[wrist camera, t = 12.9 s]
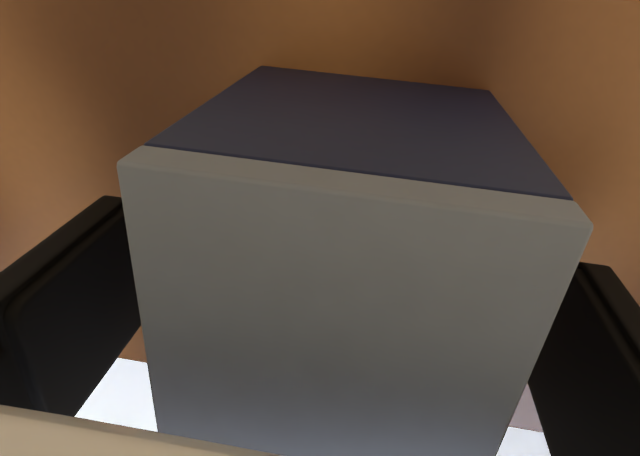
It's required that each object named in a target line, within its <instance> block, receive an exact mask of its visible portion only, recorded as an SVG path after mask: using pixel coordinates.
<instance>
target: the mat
mask: <svg viewBox="0 0 640 456" xmlns="http://www.w3.org/2000/svg"><path fill="white" fill-rule="evenodd" d="M259 66H271V67H280V68H289V69H298V70H307V71H316V72H326V73H335V74H344V75H353V76H362V77H372V78H381V79H390V80H399V81H408V82H418V83H427V84H436V85H445V86H454V87H464V88H473V89H482V90H489V91H490V92H491V93H492V94H493V95H494V97H495V98H496V99H497V101H498V102H499V103H500V104H501V106H502V107H503V108H504V110H505V111H506V112H507V113H508V115H509V116H510V117H511V119H512V120H513V121H514V123H515V124H516V125H517V126H518V128H519V129H520V130H521V132H522V133H523V134H524V135H525V137H526V138H527V139H528V141H529V142H530V143H531V144H532V146H533V147H534V148H535V150H536V151H537V152H538V153H539V155H540V156H541V157H542V159H543V160H544V161H545V162H546V164H547V165H548V166H549V168H550V169H551V170H552V171H553V173H554V174H555V175H556V177H557V178H558V179H559V180H560V182H561V183H562V184H563V186H564V187H565V188H566V189H567V191H568V192H569V193H570V195H571V196H572V197H573V201H575V202H576V203H577V204H578V205H579V206H580V208H581V209H582V210H583V212H584V213H585V214H586V215H587V217H588V218H589V219H590V221H591V222H592V223H593V231H592V233H591V236H590V238H589V240H588V243H587V245H586V247H585V250H584V252H583V254H582V256H581V259H580V261H579V262H585V263H592V264H599V265H606V266H609V267H611V268H612V269H613V271H614V272H615V274H616V275H617V276H618V278H619V279H620V280H621V282H622V283H623V284H624V286H625V287H626V289H627V290H628V291H629V293H630V294H631V295H632V297H633V298H634V300H635V301H636V302H637V304H638V305H639V306H640V0H0V272H1V271H3V270H4V269H5V268H7V267H8V266H9V265H11V264H12V263H13V262H15V261H16V260H17V259H19V258H20V257H21V256H23V255H24V254H25V253H27V252H28V251H29V250H31V249H32V248H33V247H35V246H36V245H37V244H39V243H40V242H41V241H43V240H44V239H45V238H47V237H48V236H49V235H51V234H52V233H53V232H55V231H56V230H57V229H59V228H60V227H61V226H63V225H64V224H66V223H67V222H68V221H70V220H71V219H72V218H74V217H75V216H76V215H78V214H79V213H80V212H82V211H83V210H84V209H86V208H87V207H88V206H90V205H91V204H92V203H94V202H95V201H96V200H98V199H99V198H100V197H102V196H104V195H108V196H115V197H121V192H120V185H119V179H118V172H117V162H118V161H119V160H120V159H122V158H123V157H125V156H126V155H128V154H129V153H131V152H132V151H134V150H135V149H137V148H138V147H140V146H143V145H144V143H145V142H147V141H148V140H150V139H151V138H153V137H154V136H156V135H157V134H159V133H160V132H162V131H163V130H165V129H166V128H168V127H169V126H171V125H172V124H174V123H175V122H177V121H178V120H180V119H181V118H183V117H184V116H186V115H187V114H189V113H190V112H192V111H193V110H195V109H196V108H198V107H199V106H201V105H202V104H204V103H205V102H207V101H208V100H210V99H211V98H213V97H214V96H216V95H217V94H219V93H220V92H222V91H223V90H225V89H226V88H228V87H229V86H231V85H232V84H234V83H235V82H237V81H238V80H240V79H241V78H243V77H244V76H246V75H247V74H249V73H250V72H252V71H253V70H255V69H256V68H258V67H259ZM118 358H123V359H129V360H135V361H141V362H146V363H147V358H146V352H145V345H144V339H143V333H142V326H140V327H139V329H138V330H137V332H136V333H135V334H134V336H133V337H132V338H131V340H130V341H129V343H128V344H127V345H126V347H125V348H124V349H123V351H122V352H121V353H120V355H119V356H118ZM509 426H510V427H516V428H521V429H527V430H533V431H538V432H543V429H542V426H541V423H540V420H539V417H538V414H537V410H536V407H535V404H534V401H533V398H532V395H531V392H530V389H529V385H528V382H527V384H526V387H525V389H524V391H523V394H522V396H521V398H520V401H519V403H518V405H517V408H516V410H515V412H514V414H513V417H512V419H511V421H510V424H509Z"/></svg>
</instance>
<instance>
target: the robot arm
mask: <svg viewBox="0 0 640 456" xmlns="http://www.w3.org/2000/svg"><path fill="white" fill-rule="evenodd" d="M140 326H141V320H140V313H139V307H138V301H137V294H136V288H135V281H134V275H133V269H132V262H131V256H130V249H129V243H128V236H127V230H126V224H125V217H124V211H123V204H122V198H121V197H115V196H108V195H104V196H102V197H100V198H99V199H98V200H96V201H95V202H94V203H92V204H91V205H90V206H88V207H87V208H86V209H84V210H83V211H82V212H80V213H79V214H78V215H76V216H75V217H74V218H72V219H71V220H70V221H68V222H67V223H66V224H64V225H63V226H61V227H60V228H59V229H57V230H56V231H55V232H53V233H52V234H51V235H49V236H48V237H47V238H45V239H44V240H43V241H41V242H40V243H39V244H37V245H36V246H35V247H33V248H32V249H31V250H29V251H28V252H27V253H25V254H24V255H23V256H21V257H20V258H19V259H17V260H16V261H15V262H13V263H12V264H11V265H9V266H8V267H7V268H5V269H4V270H3V271H1V272H0V456H283V455H278V454H272V453H267V452H262V451H256V450H251V449H246V448H240V447H235V446H230V445H224V444H219V443H214V442H208V441H203V440H198V439H192V438H187V437H181V436H176V435H170V434H165V433H159V432H154V431H148V430H143V429H137V428H132V427H126V426H121V425H115V424H110V423H104V422H99V421H93V420H88V419H82V418H77V417H74V416H75V415H76V414H77V412H78V411H79V409H80V408H81V407H82V405H83V404H84V403H85V401H86V400H87V399H88V397H89V396H90V394H91V393H92V392H93V390H94V389H95V388H96V386H97V385H98V384H99V382H100V381H101V379H102V378H103V377H104V375H105V374H106V373H107V371H108V370H109V368H110V367H111V366H112V364H113V363H114V362H115V360H116V359H117V358H118V356H119V355H120V353H121V352H122V351H123V349H124V348H125V347H126V345H127V344H128V343H129V341H130V340H131V338H132V337H133V336H134V334H135V333H136V332H137V330H138V329H139V327H140ZM528 385H529V389H530V392H531V395H532V398H533V401H534V404H535V407H536V410H537V414H538V417H539V420H540V423H541V426H542V429H543V432H544V436H545V439H546V442H547V445H548V448H549V451H550V454H551V456H640V306H639V305H638V304H637V302H636V301H635V300H634V298H633V297H632V295H631V294H630V293H629V291H628V290H627V289H626V287H625V286H624V284H623V283H622V282H621V280H620V279H619V278H618V276H617V275H616V274H615V272H614V271H613V269H612V268H611V267H609V266H606V265H599V264H592V263H585V262H579V263H578V266H577V268H576V270H575V273H574V275H573V277H572V280H571V282H570V284H569V287H568V289H567V291H566V294H565V296H564V298H563V301H562V303H561V305H560V308H559V310H558V312H557V315H556V317H555V319H554V322H553V324H552V326H551V329H550V331H549V333H548V335H547V338H546V340H545V342H544V345H543V347H542V349H541V352H540V354H539V356H538V359H537V361H536V363H535V366H534V368H533V370H532V373H531V375H530V377H529V380H528Z"/></svg>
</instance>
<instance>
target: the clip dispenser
mask: <svg viewBox="0 0 640 456" xmlns="http://www.w3.org/2000/svg"><path fill="white" fill-rule="evenodd" d="M117 172H118V179H119V185H120V192H121V198H122V204H123V211H124V217H125V224H126V230H127V236H128V243H129V249H130V256H131V262H132V269H133V275H134V281H135V288H136V294H137V301H138V307H139V313H140V320H141V326H142V333H143V339H144V345H145V352H146V358H147V365H148V371H149V377H150V384H151V390H152V397H153V403H154V410H155V416H156V422H157V429H158V432H159V433H165V434H170V435H176V436H181V437H187V438H192V439H198V440H203V441H208V442H214V443H219V444H224V445H230V446H235V447H240V448H246V449H251V450H256V451H262V452H267V453H272V454H278V455H283V456H496V454H497V452H498V449H499V447H500V445H501V442H502V440H503V438H504V435H505V433H506V431H507V428H508V426H509V424H510V421H511V419H512V417H513V414H514V412H515V410H516V408H517V405H518V403H519V401H520V398H521V396H522V394H523V391H524V389H525V387H526V384H527V382H528V380H529V377H530V375H531V373H532V370H533V368H534V366H535V363H536V361H537V359H538V356H539V354H540V352H541V349H542V347H543V345H544V342H545V340H546V338H547V335H548V333H549V331H550V329H551V326H552V324H553V322H554V319H555V317H556V315H557V312H558V310H559V308H560V305H561V303H562V301H563V298H564V296H565V294H566V291H567V289H568V287H569V284H570V282H571V280H572V277H573V275H574V273H575V270H576V268H577V266H578V263H579V261H580V259H581V256H582V254H583V252H584V250H585V247H586V245H587V243H588V240H589V238H590V236H591V233H592V231H593V223H592V222H591V221H590V219H589V218H588V217H587V215H586V214H585V213H584V212H583V210H582V209H581V208H580V206H579V205H578V204H577V203H576V202H575V201H573V197H572V196H571V195H570V193H569V192H568V191H567V189H566V188H565V187H564V186H563V184H562V183H561V182H560V180H559V179H558V178H557V177H556V175H555V174H554V173H553V171H552V170H551V169H550V168H549V166H548V165H547V164H546V162H545V161H544V160H543V159H542V157H541V156H540V155H539V153H538V152H537V151H536V150H535V148H534V147H533V146H532V144H531V143H530V142H529V141H528V139H527V138H526V137H525V135H524V134H523V133H522V132H521V130H520V129H519V128H518V126H517V125H516V124H515V123H514V121H513V120H512V119H511V117H510V116H509V115H508V113H507V112H506V111H505V110H504V108H503V107H502V106H501V104H500V103H499V102H498V101H497V99H496V98H495V97H494V95H493V94H492V93H491V92H490V91H489V90H482V89H473V88H464V87H454V86H445V85H436V84H427V83H418V82H408V81H399V80H390V79H381V78H372V77H362V76H353V75H344V74H335V73H326V72H316V71H307V70H298V69H289V68H280V67H271V66H259V67H258V68H256V69H255V70H253V71H252V72H250V73H249V74H247V75H246V76H244V77H243V78H241V79H240V80H238V81H237V82H235V83H234V84H232V85H231V86H229V87H228V88H226V89H225V90H223V91H222V92H220V93H219V94H217V95H216V96H214V97H213V98H211V99H210V100H208V101H207V102H205V103H204V104H202V105H201V106H199V107H198V108H196V109H195V110H193V111H192V112H190V113H189V114H187V115H186V116H184V117H183V118H181V119H180V120H178V121H177V122H175V123H174V124H172V125H171V126H169V127H168V128H166V129H165V130H163V131H162V132H160V133H159V134H157V135H156V136H154V137H153V138H151V139H150V140H148V141H147V142H145V143H144V145H143V146H140V147H138V148H137V149H135V150H134V151H132V152H131V153H129V154H128V155H126V156H125V157H123V158H122V159H120V160H119V161H118V162H117Z"/></svg>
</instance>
